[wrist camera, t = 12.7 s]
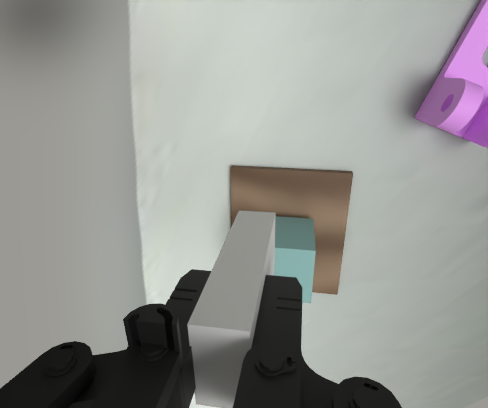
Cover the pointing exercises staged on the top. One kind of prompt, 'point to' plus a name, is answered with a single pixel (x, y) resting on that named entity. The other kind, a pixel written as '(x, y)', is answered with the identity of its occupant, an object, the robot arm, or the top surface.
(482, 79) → the bracket
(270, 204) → the brown square panel
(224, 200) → the top surface
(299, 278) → the teal rectangular block
